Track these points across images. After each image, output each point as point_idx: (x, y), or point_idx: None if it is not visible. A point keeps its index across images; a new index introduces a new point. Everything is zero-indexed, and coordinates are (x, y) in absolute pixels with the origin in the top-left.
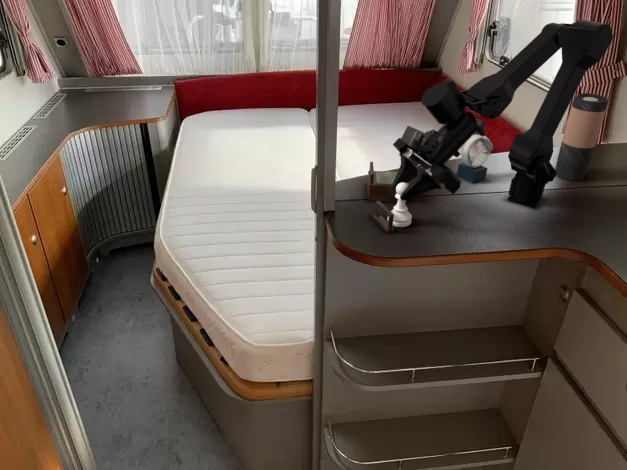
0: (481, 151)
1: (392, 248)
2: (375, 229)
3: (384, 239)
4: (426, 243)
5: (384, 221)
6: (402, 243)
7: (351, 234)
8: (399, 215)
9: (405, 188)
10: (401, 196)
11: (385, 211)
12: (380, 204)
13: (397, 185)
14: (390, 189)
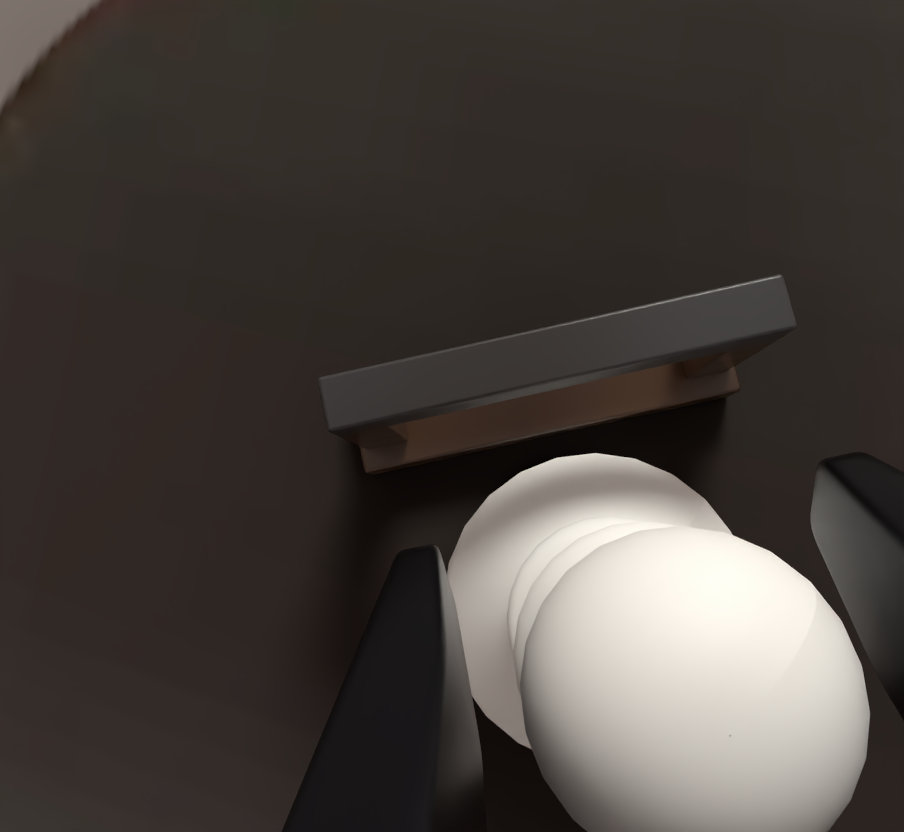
0: None
1: (56, 368)
2: (448, 289)
3: (234, 333)
4: (89, 756)
5: (535, 399)
6: (130, 496)
7: (376, 30)
8: (504, 572)
9: (546, 724)
10: (398, 568)
11: (465, 345)
12: (666, 314)
13: (738, 563)
14: (839, 457)
